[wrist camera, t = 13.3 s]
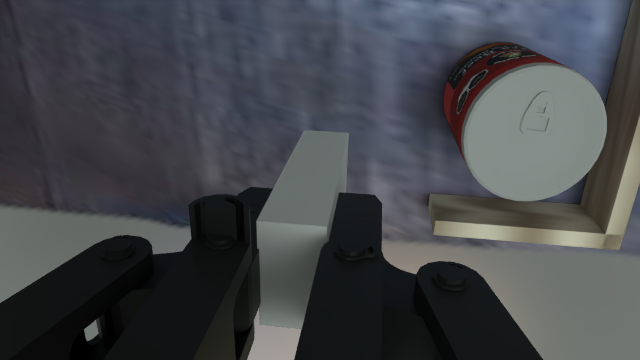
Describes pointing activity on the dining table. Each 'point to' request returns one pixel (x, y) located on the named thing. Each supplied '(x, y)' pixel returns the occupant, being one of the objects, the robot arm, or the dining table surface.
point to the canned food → (524, 121)
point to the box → (600, 188)
